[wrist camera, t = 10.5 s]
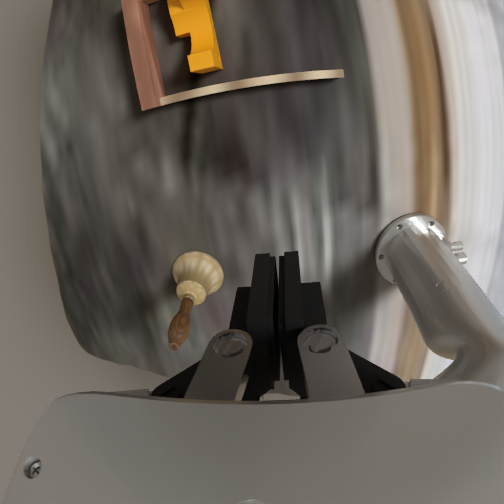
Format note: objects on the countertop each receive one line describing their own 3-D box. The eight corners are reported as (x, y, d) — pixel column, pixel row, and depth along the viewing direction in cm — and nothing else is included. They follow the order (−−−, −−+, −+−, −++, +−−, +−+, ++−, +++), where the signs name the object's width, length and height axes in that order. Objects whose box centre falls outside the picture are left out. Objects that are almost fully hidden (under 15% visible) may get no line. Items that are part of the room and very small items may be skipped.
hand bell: (165, 255, 48) (129, 326, 34) (215, 246, 46) (194, 320, 33) (182, 296, 52) (157, 370, 38) (229, 290, 50) (216, 368, 37)
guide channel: (318, -33, 25) (323, -43, 22) (339, 77, 33) (347, 77, 30) (133, 3, 28) (120, -3, 25) (153, 107, 36) (142, 111, 33)
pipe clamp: (173, -3, 28) (156, -16, 23) (205, -12, 28) (194, -27, 22) (189, 76, 34) (175, 76, 29) (223, 69, 34) (214, 66, 28)
